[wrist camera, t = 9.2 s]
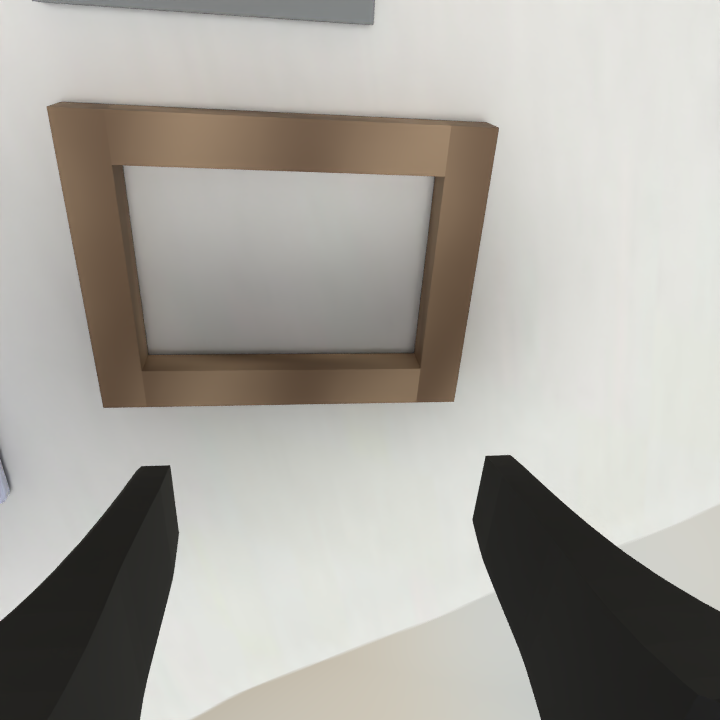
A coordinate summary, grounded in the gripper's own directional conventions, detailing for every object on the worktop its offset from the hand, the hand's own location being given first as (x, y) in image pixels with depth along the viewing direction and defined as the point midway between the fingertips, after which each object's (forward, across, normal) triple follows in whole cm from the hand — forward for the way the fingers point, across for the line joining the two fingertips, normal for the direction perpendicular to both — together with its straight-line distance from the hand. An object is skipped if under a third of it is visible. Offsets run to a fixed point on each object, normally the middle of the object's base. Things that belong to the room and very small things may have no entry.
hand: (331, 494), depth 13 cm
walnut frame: (+9, +1, -2) cm, 10 cm away
